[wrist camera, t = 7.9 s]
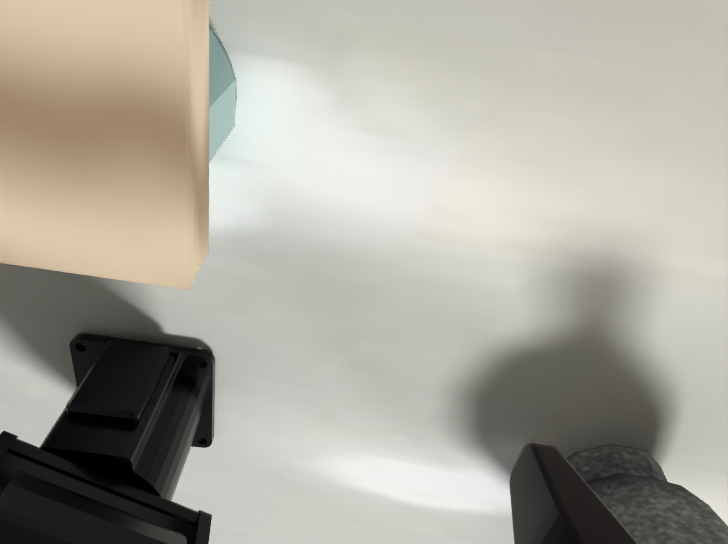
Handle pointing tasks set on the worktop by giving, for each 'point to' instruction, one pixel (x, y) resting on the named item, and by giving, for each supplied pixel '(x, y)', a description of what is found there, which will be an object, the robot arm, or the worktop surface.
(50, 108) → the board
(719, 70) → the worktop surface
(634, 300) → the worktop surface
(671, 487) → the mortar and pestle
